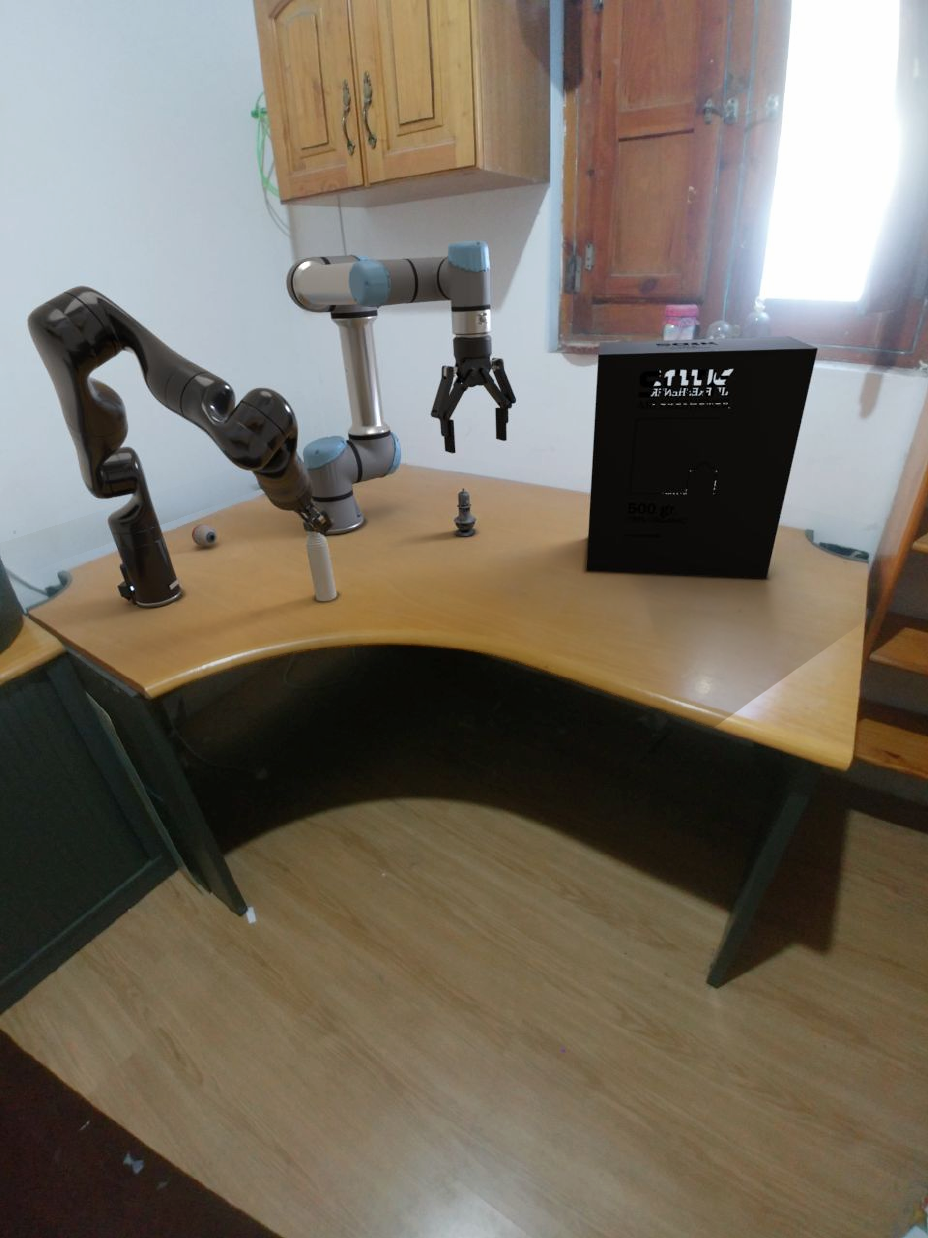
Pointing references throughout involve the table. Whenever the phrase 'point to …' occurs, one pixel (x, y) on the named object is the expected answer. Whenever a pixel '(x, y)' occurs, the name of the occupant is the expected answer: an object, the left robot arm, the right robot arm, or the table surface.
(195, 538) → the eyeball
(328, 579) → the bottle
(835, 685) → the table surface
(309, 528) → the cap
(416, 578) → the table surface
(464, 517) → the salt shaker
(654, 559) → the cardboard box
